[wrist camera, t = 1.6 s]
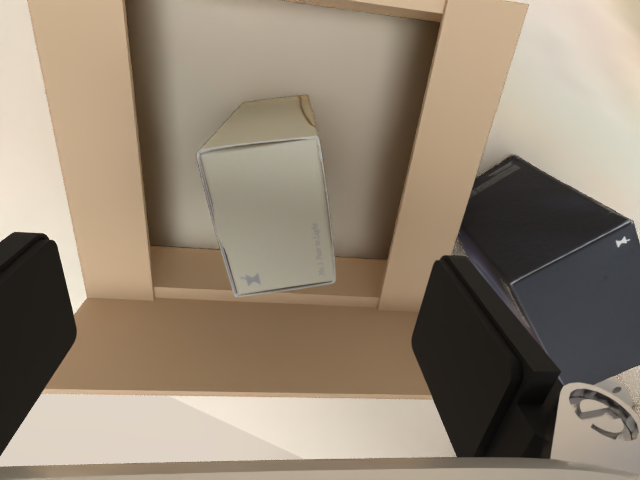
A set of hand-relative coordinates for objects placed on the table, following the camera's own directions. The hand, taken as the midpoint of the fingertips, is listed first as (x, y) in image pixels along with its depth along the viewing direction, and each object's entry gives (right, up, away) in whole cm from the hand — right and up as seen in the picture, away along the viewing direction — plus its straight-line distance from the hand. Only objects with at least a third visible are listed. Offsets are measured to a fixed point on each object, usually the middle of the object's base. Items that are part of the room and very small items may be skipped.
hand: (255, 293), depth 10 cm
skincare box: (-1, +8, +15) cm, 17 cm away
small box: (+15, +2, +20) cm, 25 cm away
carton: (-1, +7, +15) cm, 17 cm away
